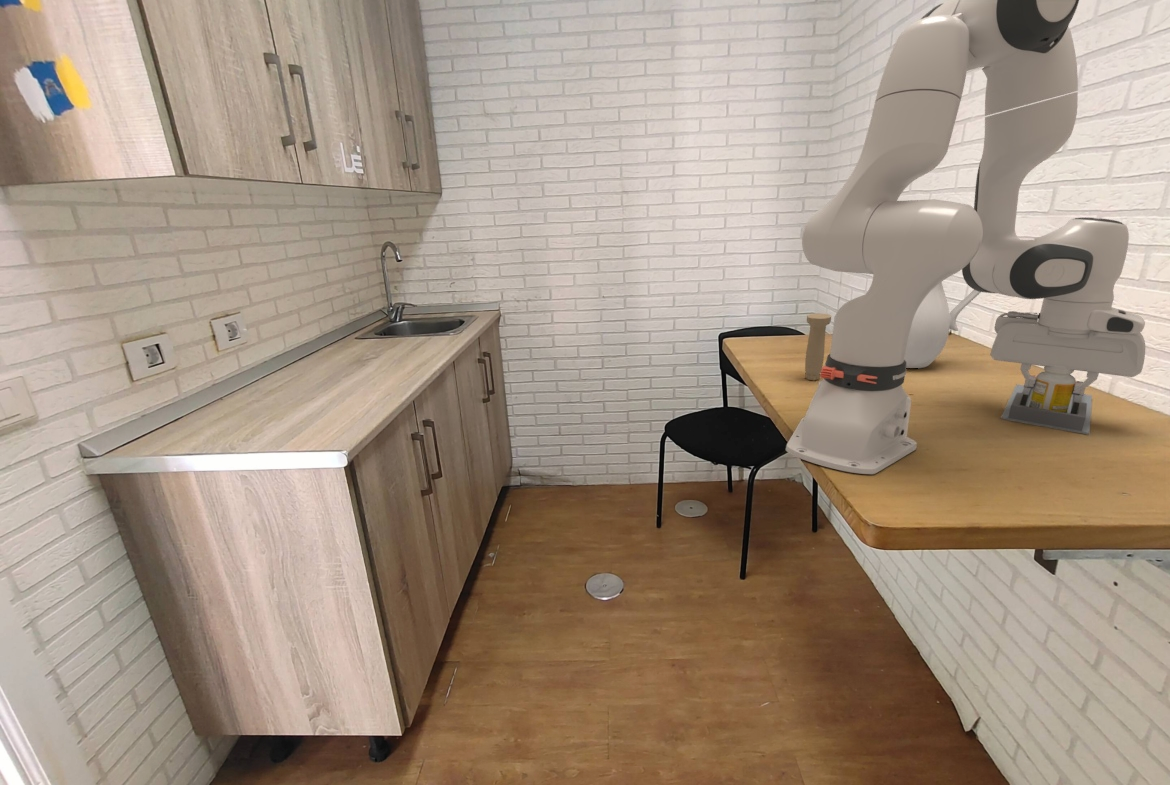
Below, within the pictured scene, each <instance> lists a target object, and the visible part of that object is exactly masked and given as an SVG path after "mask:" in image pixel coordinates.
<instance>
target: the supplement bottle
mask: <svg viewBox="0 0 1170 785" xmlns="http://www.w3.org/2000/svg"><path fill="white" fill-rule="evenodd" d="M1043 370H1044V371H1041V372H1040V373H1038V374H1037V375H1036V376H1037V378H1036V381H1035V385H1034V389H1033V393H1032V397H1031V401H1030V405H1029V407H1034V408H1040V409H1046V410H1053V411H1059V412H1065V413H1067V411H1068V407H1069V404H1070V400H1071V397H1072V393H1073V389H1074V386H1075V382H1076V381H1077V380H1076V377H1074V376H1073V375H1072V374H1073V373H1074V371H1075V370H1070V369H1067V368H1066V367H1063V366H1052V367H1046V366H1043Z"/></svg>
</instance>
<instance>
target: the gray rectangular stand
mask: <svg viewBox="0 0 1170 785" xmlns="http://www.w3.org/2000/svg"><path fill="white" fill-rule="evenodd" d="M1030 376H1031V377H1034V378H1037V375H1036V374H1030ZM1083 382H1084V381H1079V380H1076V382H1075V383H1078V384H1081V383H1083ZM1032 393H1033V388H1025V387H1024V384H1019V383H1018V384H1017V383H1016V384H1015V387H1014V389H1013V391H1012V393H1011V396H1010V398H1009V399H1008V402H1007V404H1006V406H1005V408H1004V410H1003V412H1002V414H1001V416H1000V419H1001V420H1006V421H1011V422H1015V423H1016V422H1017V423H1022V424H1028V425H1033V426H1039V427H1044V428H1049V429H1055V430H1060V431H1067V432H1071V433H1076V434H1082V435H1088V436H1089V435H1090V433H1091V432H1090V431H1091V418H1092V402H1093V401H1092V400H1093V395H1092V394H1086V393H1084V395H1083V396H1080V395H1073V394H1072V397H1071V400H1070V404H1069V407H1068V411H1067V413H1065V412H1059V411H1053V410H1046V409H1040V408H1034V407H1029V405H1030V401H1031V397H1032Z"/></svg>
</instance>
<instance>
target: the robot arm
mask: <svg viewBox="0 0 1170 785" xmlns="http://www.w3.org/2000/svg"><path fill="white" fill-rule="evenodd" d="M1079 2H1080V0H946V1H945V2H943V3H940V4H938V5H936V6H935V7H933V8H931V10H929V11H927V12H926V14H924V15H923V16H922V17H921V18H920V19H918V20H917V21H914V22H913V23H911V24H910V25H908V26H907V27H906V28H905V29H904V30H903V31H902V32H901V33H900V34H899V35H898V37H897V38H896V41H895V44H894V46H893V48H892V50H891V53H890V54H889V57H888V60H887V63H886V65H885V67H884V71H883V74H882V75H881V76H882V77H881V79H880V82H879V85H878V90H877V93H876V96H875V101H874V105H873V108H872V109H873V110H872V113H871V118H870V122H869V126H868V129H867V133H866V137H865V140H864V144H863V147H862V150H861V153H860V156H859V158H858V161H857V163H856V165H855V167H854V168H853V170H852V172H851V174H850V176H849V177H848V179H847V180H846V182H844V184H843V186H842V187H841V188H840V190H839V191H838V192H837V193H836V195H835V196H833V198H832V199H830V200H829V202H827V203H826V204H824V206H822V207H820V209H818V210H816V211H815V212H814V213H813V214H812V215H811V216H810V217H809V219H808V221H807V222H806V225H805V226H804V229H803V232H802V236H801V247H802V250H803V254H804V256H805V258H806V260H807V261H808V263H810V264H812V265H814V266H817V267H820V268H824V269H827V270H828V271H829V270H831V271H833V272H841V273H852V274H853V273H856V274H866V275H867V274H869V275H872V276H873V277H872V281H871V284H870V287H869V289H868V290H867V292H866V293H865V294H863V295H860V296H857V297H855V298H853V299H851V300H849V301H847V302H845V303H844V304H843V305H842V306H840V307H839V308H838V310H837V311H836V313H835V315H834V318H833V326H832V336H831V344H830V351H829V352H830V353H829V354H828V355H827V356H826V360H825V362H824V365H823V366H822V370H821V373H820V374H821V376H820V379H821V380H820V381H818V385H817V387H816V390H815V393H814V395H813V397H812V398H811V401H810V404H809V406H808V408H807V410H806V413H805V416H803V417H802V418H801V419H800V420H799V423H798V425H797V426H796V427H795V429H794V431H793V433H792V435H791V437H790V438H789V440H788V441H787V443H786V445H785V451H786V452H787V453H789V454H790V455H792V456H794V457H796V458H798V459H801V460H803V461H805V462H809V463H812V464H816V465H819V466H822V467H826V468H829V469H834V470H838V471H841V472H847V473H852V474H853V473H854V474H862V475H876V474H877V473H879V472H881V471H882V470H884V469H886V468H887V467H889V466H891V465H893V464H894V463H896V462H897V461H899V460H901V459H902V458H904V457H905V456H907V455H909V454H911V453H913V452H914V451H916V450H917V445H918V442H917V441H916V440H914V439H913V438H910V437H909V436H908V430H909V423H910V422H909V421H910V415H911V414H910V413H911V405H912V399H911V397H910V396H909V395H908V394H907V392H906V391H905V389H904V387H903V384H904V382H905V379H906V378H905V377H906V374H907V369H906V361H905V360H904V357H905V352H906V346H907V342H908V337H909V333H910V329H911V325H912V321H913V318H914V315H915V313H916V311H917V309H918V307H919V306H920V304H921V302H922V301H923V300H924V298H925V297H926V296H927V295H928V294H929V292H930V291H931V290H932V289H933V288H934V287H936V286H937V285H938V284H939V283H941V282H944V281H945V280H946V279H948V278H950V277H951V276H954V275H955V274H957V273H959V272H960V271H961V274H962V278H963V280H964V281H965V283H966V285H967V286H969V288H971V289H972V290H976V291H979V292H981V293H988V294H999V295H1002V296H1007V297H1013V298H1014V297H1015V298H1019V299H1024V300H1037V299H1038V300H1039V299H1040V300H1041V299H1043V300H1042V305H1041V309H1040V312H1027V311H1026V312H1020V311H1015V310H1013V311H1011V310H1010V311H1007V312H1003V313H1001V314H1000V315H998V317H997V318H996V319H995V323H994V332H995V333H996V336H995V339H994V341H993V343H992V346H991V349H990V355H989V356H990V357H991V358H992V359H993V361H998V362H999V361H1000V362H1005V363H1007V362H1008V363H1016V364H1020V368H1019V369H1020V372H1021V374H1022V376H1023V377H1024V382H1023V385H1024V387H1025V388H1033V389H1034V385H1035V381H1036V378H1034V377H1031V376H1030V375H1031V374H1030V371H1031V368H1032V365H1033V366H1039V367H1044V366H1046V367H1052V366H1063V367H1066V368H1067V369H1070V370H1074V371H1080V372H1086V378H1087V379H1085V380H1084V381H1082V382H1083V383H1081V384H1078V383H1075V386H1074V389H1073V393H1072V394H1073V395H1080V396H1083V395H1084V394H1085V391H1086V389H1087V387H1089V386H1090V385H1092V384H1093V383H1094V382H1096V381H1097V380H1098V377H1099V374H1101V375H1102V374H1104V375H1111V376H1120V377H1127V378H1134V377H1137V376H1138V375H1140V374H1141V373H1142V371H1143V367H1144V363H1145V358H1146V341H1145V338H1144V335H1143V334H1142V331H1143V330H1144V328H1145V325H1146V322H1145V319H1144V318H1143V317H1142V316H1140V315H1138V314H1135V313H1131V312H1128V311H1124V310H1121V309H1118V308H1115V307H1112V306H1113V303H1114V300H1115V299H1114V297H1115V296H1114V288H1115V285H1116V282H1118V279H1119V278H1121V275H1122V272H1123V269H1124V266H1125V262H1126V257H1127V253H1128V249H1129V248H1128V247H1129V239H1130V238H1129V236H1130V234H1129V228H1128V226H1127V225H1126V224H1125V223H1123V222H1121V221H1119V220H1114V219H1109V218H1094V217H1075V218H1071V219H1070V220H1068V222H1066V223H1065V224H1064V225H1062V226H1060V227H1059V228H1057V229H1055V230H1054V231H1051V232H1049V233H1047V234H1044V235H1041V236H1039V237H1035V238H1033V240H1032V239H1028V240H1027V239H1020V238H1019V236H1018V235H1017V233H1016V219H1017V211H1018V202H1019V194H1020V189H1021V185H1022V183H1023V181H1024V180H1025V178H1026V177H1027V175H1028V174H1030V172H1031V171H1033V169H1035V168H1036V167H1037V166H1039V165H1040V164H1042V163H1043V162H1045V161H1046V160H1048V159H1049V158H1051V157H1052V156H1053V155H1054V154H1056V153H1057V151H1060V149H1061V148H1062V147H1063V146H1064V145H1065V144H1066V142H1068V140H1069V139H1070V137H1071V136H1072V133H1073V132H1074V131H1073V130H1074V127H1075V124H1076V121H1077V115H1078V101H1079V100H1078V97H1079V96H1078V94H1079V93H1078V90H1079V84H1078V82H1079V77H1078V64H1077V56H1076V50H1075V44H1074V40H1073V39H1074V38H1073V35H1072V31H1071V28H1070V27H1069V26H1070V23H1071V22H1072V19H1073V18H1074V15H1075V13H1076V11H1077V9H1078V5H1079ZM979 68H981V70H982V72H983V73H984V75H985V77H986V87H985V98H984V116H985V117H984V140H983V149H982V154H981V155H982V156H981V158H980V162H979V165H978V168H977V169H978V170H977V173H976V182H975V189H974V190H975V191H974V201H973V202H974V203H973V206H971V204H967V203H966V204H965V203H961V202H956V201H949V200H940V199H935V198H934V199H911V200H898V199H899V197H900V196H901V195H902V194H903V192H904V190H906V188H907V187H908V186H910V185H911V184H912V183H913V182H914V181H917V179H919V178H920V177H923V176H924V175H926V174H929V173H930V172H932V171H933V170H934V169H935V168H937V167H938V166H939V165H940V163H941V162H942V161H943V160H944V158H946V155H947V153H948V150H949V146H950V143H951V140H952V139H951V138H952V134H953V132H954V128H955V123H956V120H957V115H958V112H959V109H960V104H961V101H962V97H963V92H964V88H965V82H966V77H967V72H969V71H973V70H975V69H979Z"/></svg>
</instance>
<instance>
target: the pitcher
mask: <svg viewBox="0 0 1170 785" xmlns="http://www.w3.org/2000/svg"><path fill="white" fill-rule="evenodd" d="M942 282H943V281H942ZM942 282H941V283H939V284H938V285H937V286H936V287H934V288H933V289H932V290H931V291H930V292H929V294H928V295H927V296H926V297H925V298H924V300H923V301H922V302H921V304H920V306H919V307H918V309H917V311H916V313H915V315H914V318H913V321H912V325H911V329H910V333H909V337H908V342H907V346H906V352H905V357H904V360H905V361H906V368H918V369H924V368H927V367H929V366H930V365H931V364H932V363H933V362H934V361H935V360H936V359H937V358H938V356H939V355H940V354H941V353H942V351H943V350H944V347H945V346H946V344H947V341H948V338H949V333H950V330H952V331H954V332H958V331H959V328H958V326H957V317H958V316H959V314H960V313H961V312H962V311H963V310H964V309H965V308H966V307H967V306H968V305H969V304H970V303H971V302H972V301H973V300H975V299H976V297H978V296H979V295H980V294H981V293H982V292H979V291H976V290H974V289H972V291H970V293H968V295H967V296H966V297H964V299H962V300H961V301H960V302H959V303H958V304H957V305H956V306H955V307H954V308H953V309H951V311H950V309H949V304H948V301H947V297H946V293H945V290H944V285H943V283H942Z"/></svg>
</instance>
